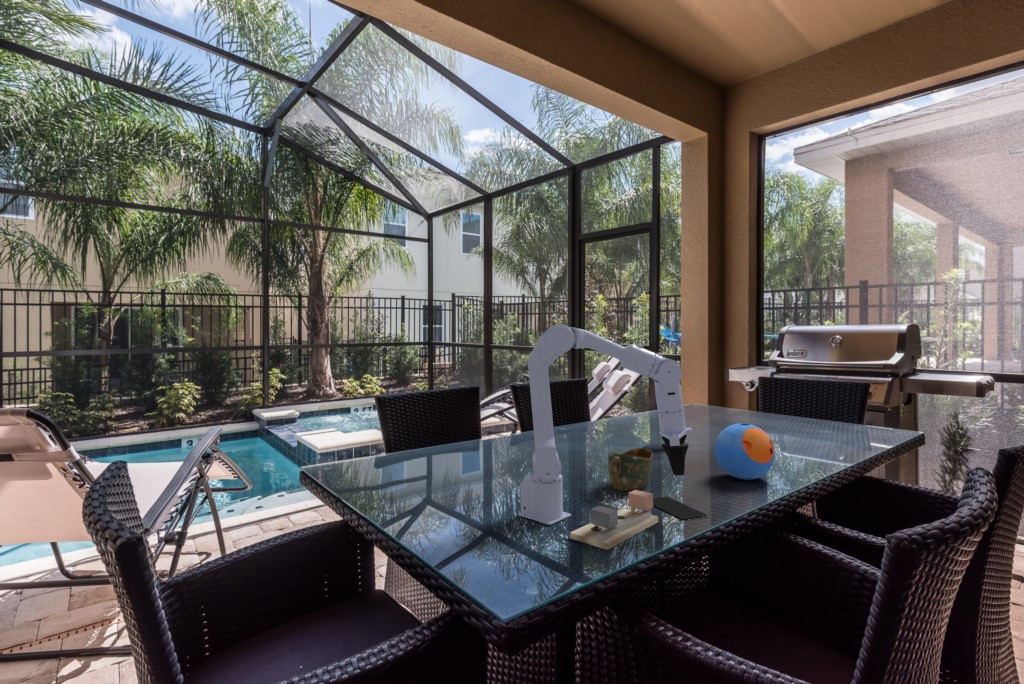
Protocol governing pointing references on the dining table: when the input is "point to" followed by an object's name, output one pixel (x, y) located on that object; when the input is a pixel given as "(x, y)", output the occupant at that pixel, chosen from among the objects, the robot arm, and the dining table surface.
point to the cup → (630, 469)
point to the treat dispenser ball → (744, 451)
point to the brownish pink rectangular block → (640, 500)
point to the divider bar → (623, 525)
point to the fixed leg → (604, 517)
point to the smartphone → (676, 508)
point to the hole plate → (590, 535)
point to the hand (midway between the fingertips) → (678, 469)
